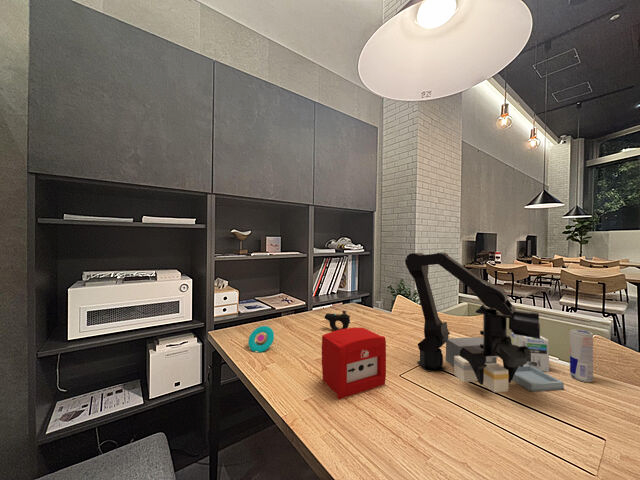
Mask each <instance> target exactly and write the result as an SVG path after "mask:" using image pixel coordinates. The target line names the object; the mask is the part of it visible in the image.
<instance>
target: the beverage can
mask: <svg viewBox="0 0 640 480" xmlns="http://www.w3.org/2000/svg"><path fill="white" fill-rule="evenodd" d="M593 335H594V333H592V332H590V331H587V330H582V329H573V328H572V329H570V330H569V375H570V376H571V377H573V379H575V380H577V381H580V382H583V383H590V382H593V380H594V336H593Z"/></svg>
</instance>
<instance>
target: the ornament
mask: <svg viewBox="0 0 640 480" xmlns="http://www.w3.org/2000/svg"><path fill="white" fill-rule="evenodd" d="M274 340H275V333H274V330H273V328H271V327H269V326H267V325H262V326H261V325H260V326H258V327H256V328H255V329H254V330H253V331H252V332H251V333H250V335H249V336H248V348H249V350H251V351H252V352H254V351H258V352H257V353H263V352H265V351H267V350H268V349H269V348H270V347H271V346H272V344H273V342H274Z"/></svg>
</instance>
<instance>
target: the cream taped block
mask: <svg viewBox="0 0 640 480" xmlns="http://www.w3.org/2000/svg"><path fill="white" fill-rule="evenodd" d="M486 365H487V366H486V367H485V368H484V381H483V385H482V386H485V387H486V388H487V389H489V390H490V391H492V392H493V393H505V392H509V383H508V379H509V374H508V370H507V369H505V368H503V367H504V366H503V365H502V366H501V365H500V364H498V363H497V364H496V363H489V364H486Z"/></svg>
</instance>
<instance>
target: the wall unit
mask: <svg viewBox="0 0 640 480" xmlns="http://www.w3.org/2000/svg"><path fill="white" fill-rule="evenodd" d="M480 344H483V336H477V337H475V336H473V337H472V336H471V337H452V338H451V337H450V338H448V340H447V342H446V343H445V361H446V362H447V363H448V364H449V365H451V366H452V367H453V368H454V356H460V349H461V348H462V347H474V348H476V349H477V350H479V351H484V349H482V348H480ZM497 358H498V357H494V358H486V362H485V363H484V364H489V363H496V364H498V363H497Z"/></svg>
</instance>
